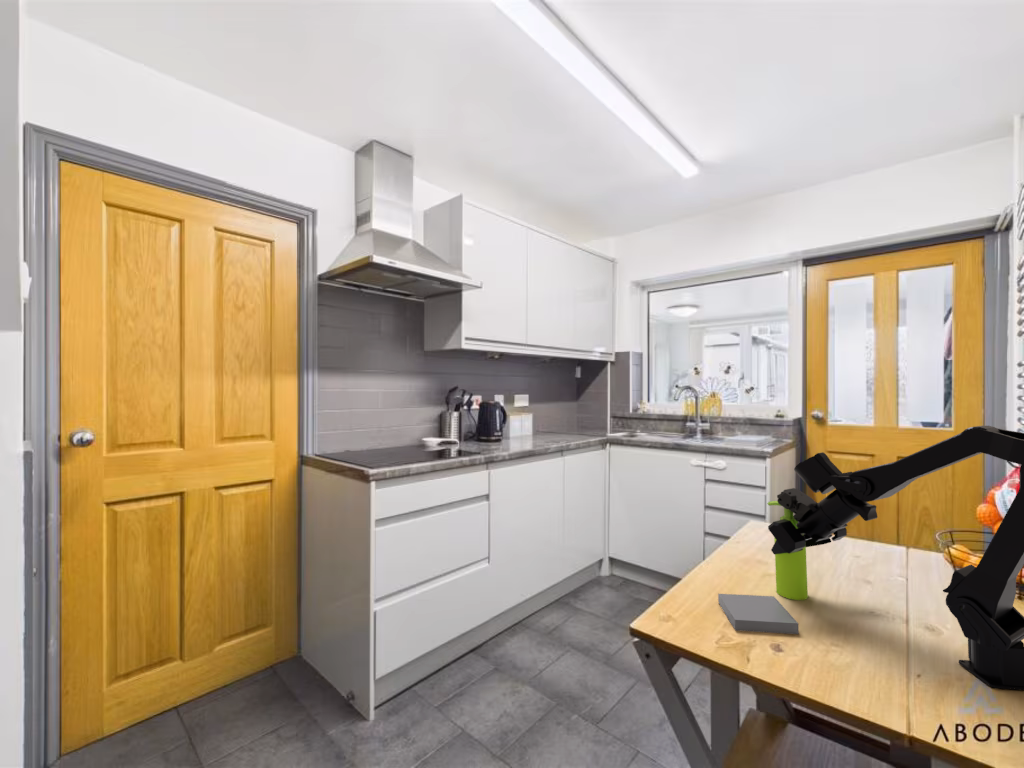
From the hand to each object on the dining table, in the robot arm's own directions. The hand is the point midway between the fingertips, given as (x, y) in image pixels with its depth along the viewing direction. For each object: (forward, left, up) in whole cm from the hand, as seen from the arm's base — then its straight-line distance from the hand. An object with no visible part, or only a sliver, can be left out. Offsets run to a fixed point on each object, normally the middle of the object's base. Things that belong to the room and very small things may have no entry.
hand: (781, 549), depth 102 cm
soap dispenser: (-1, -1, -9) cm, 9 cm away
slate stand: (-13, +10, -9) cm, 19 cm away
